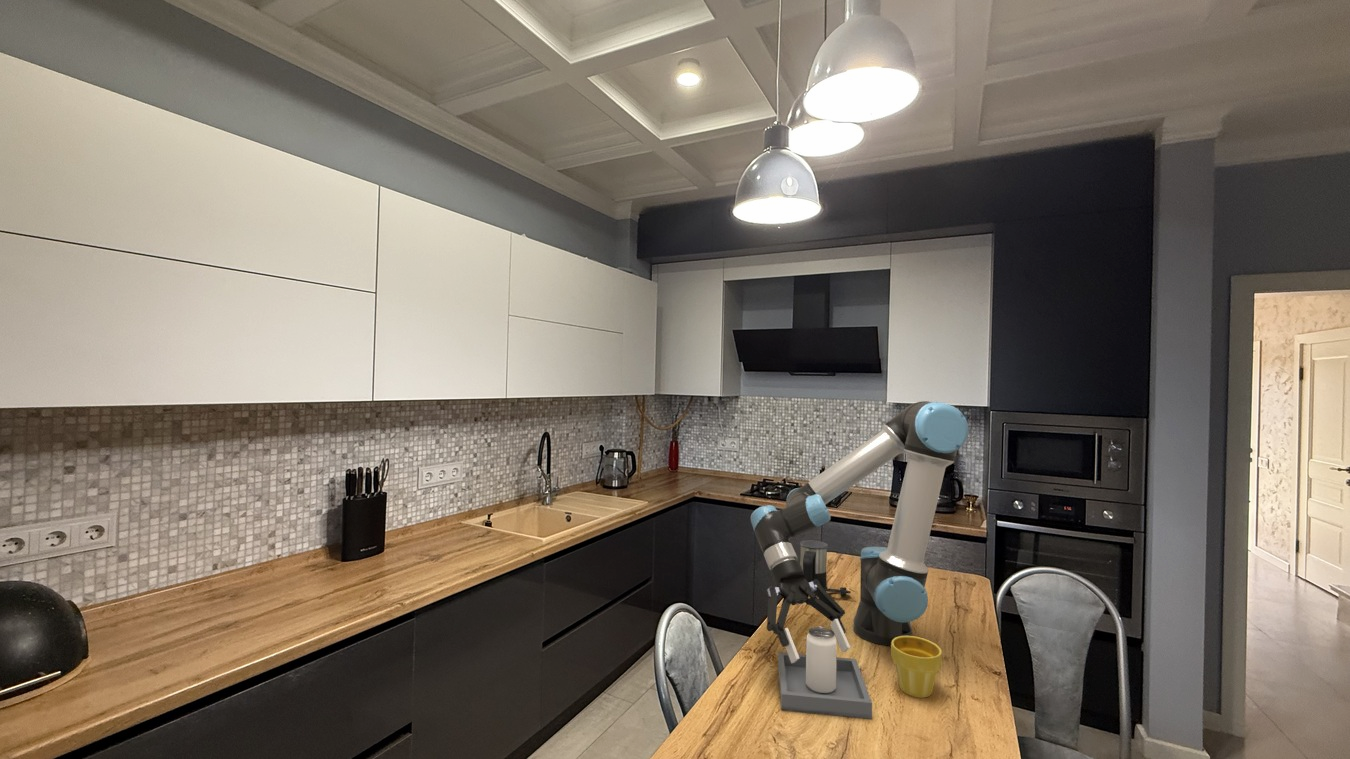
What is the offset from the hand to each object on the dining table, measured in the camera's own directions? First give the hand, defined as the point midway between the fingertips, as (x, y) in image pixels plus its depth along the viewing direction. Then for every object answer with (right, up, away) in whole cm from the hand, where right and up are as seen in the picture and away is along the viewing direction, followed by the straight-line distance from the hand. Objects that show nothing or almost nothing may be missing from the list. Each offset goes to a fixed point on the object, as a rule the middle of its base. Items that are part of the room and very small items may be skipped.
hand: (821, 655), depth 120 cm
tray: (0, -8, 0) cm, 8 cm away
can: (0, -7, 0) cm, 7 cm away
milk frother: (+17, -9, +59) cm, 62 cm away
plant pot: (+21, -8, +1) cm, 23 cm away
